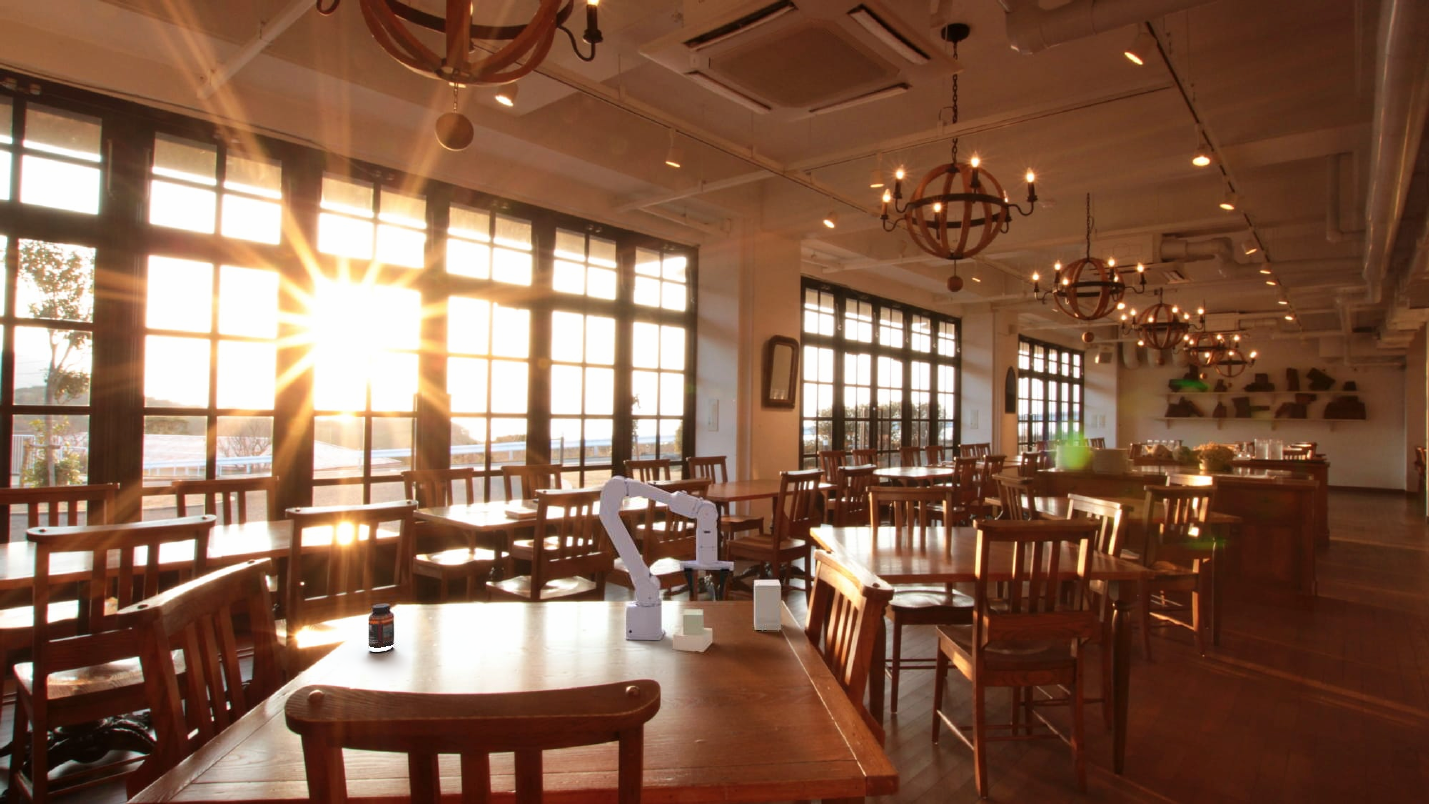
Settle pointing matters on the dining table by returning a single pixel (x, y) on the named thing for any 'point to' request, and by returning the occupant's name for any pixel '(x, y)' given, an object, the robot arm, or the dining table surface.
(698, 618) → the sage block
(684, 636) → the cream block
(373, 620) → the supplement bottle
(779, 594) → the supplement box
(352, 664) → the dining table surface
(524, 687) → the dining table surface
